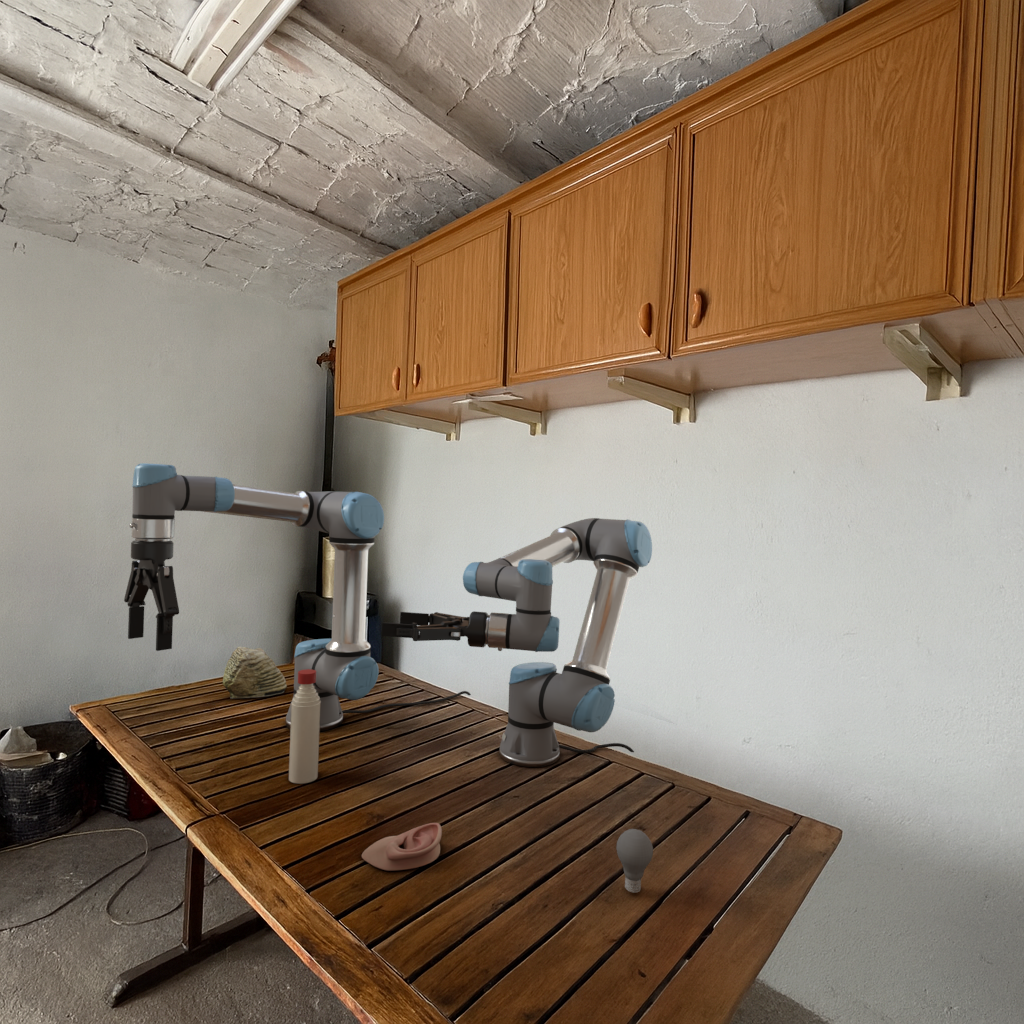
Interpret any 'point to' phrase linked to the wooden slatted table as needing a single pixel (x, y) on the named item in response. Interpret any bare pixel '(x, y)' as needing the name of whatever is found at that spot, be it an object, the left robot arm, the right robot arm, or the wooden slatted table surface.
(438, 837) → the anatomical model
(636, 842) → the light bulb
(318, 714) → the bottle
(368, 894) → the wooden slatted table surface
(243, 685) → the fossil
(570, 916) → the wooden slatted table surface
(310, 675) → the cap
